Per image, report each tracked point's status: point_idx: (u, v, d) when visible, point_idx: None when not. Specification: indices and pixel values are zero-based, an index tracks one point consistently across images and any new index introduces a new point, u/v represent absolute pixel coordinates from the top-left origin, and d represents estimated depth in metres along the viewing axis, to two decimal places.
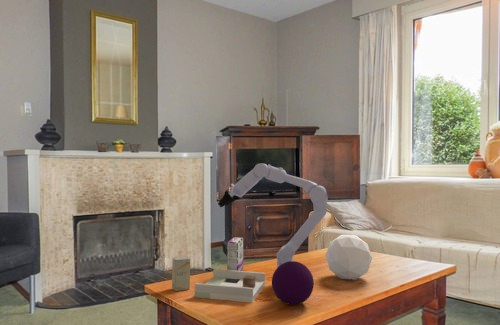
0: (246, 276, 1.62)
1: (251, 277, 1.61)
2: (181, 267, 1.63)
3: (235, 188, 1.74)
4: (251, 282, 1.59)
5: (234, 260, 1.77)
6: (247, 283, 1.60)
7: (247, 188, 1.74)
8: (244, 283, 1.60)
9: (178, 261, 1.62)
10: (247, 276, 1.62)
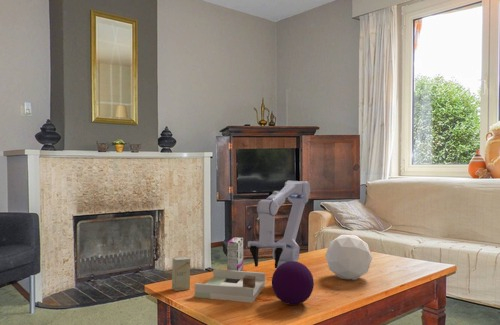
0: (246, 276, 1.62)
1: (251, 277, 1.61)
2: (181, 267, 1.63)
3: (272, 242, 1.58)
4: (251, 282, 1.59)
5: (234, 260, 1.77)
6: (247, 283, 1.60)
7: None
8: (244, 283, 1.60)
9: (178, 261, 1.62)
10: (247, 276, 1.62)
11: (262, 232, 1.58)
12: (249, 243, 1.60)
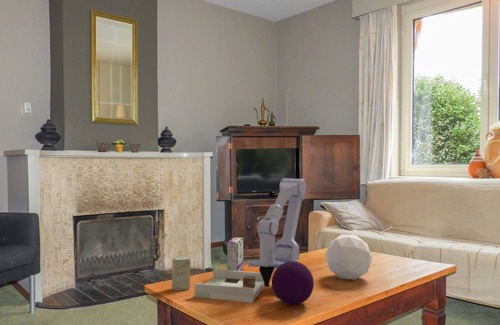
0: (246, 276, 1.62)
1: (251, 277, 1.61)
2: (181, 267, 1.63)
3: (273, 262, 1.58)
4: (251, 282, 1.59)
5: (234, 260, 1.77)
6: (247, 283, 1.60)
7: None
8: (244, 283, 1.60)
9: (178, 261, 1.62)
10: (247, 276, 1.62)
11: (262, 252, 1.58)
12: (249, 263, 1.60)
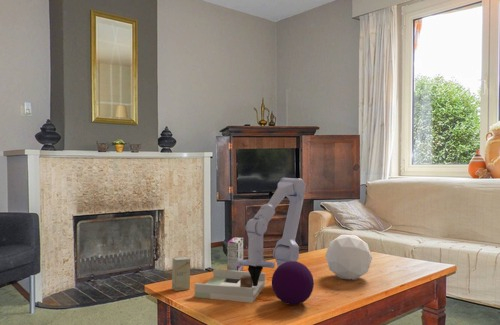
0: (243, 276, 1.62)
1: (249, 277, 1.61)
2: (181, 267, 1.63)
3: (261, 261, 1.59)
4: (249, 282, 1.60)
5: (234, 260, 1.77)
6: (244, 282, 1.60)
7: None
8: (242, 283, 1.60)
9: (178, 261, 1.62)
10: (244, 276, 1.62)
11: (251, 251, 1.59)
12: (238, 262, 1.61)
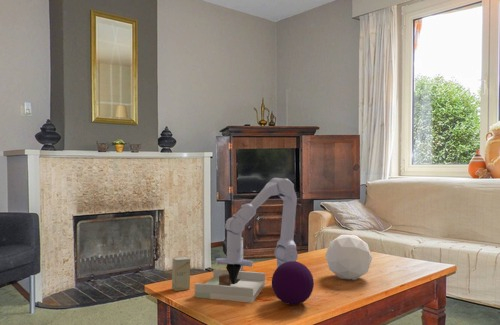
0: (222, 274, 1.64)
1: (227, 275, 1.63)
2: (181, 267, 1.63)
3: (239, 259, 1.61)
4: (227, 280, 1.62)
5: None
6: (223, 281, 1.62)
7: None
8: (220, 281, 1.62)
9: (178, 261, 1.62)
10: (223, 274, 1.64)
11: (229, 250, 1.61)
12: (217, 260, 1.64)
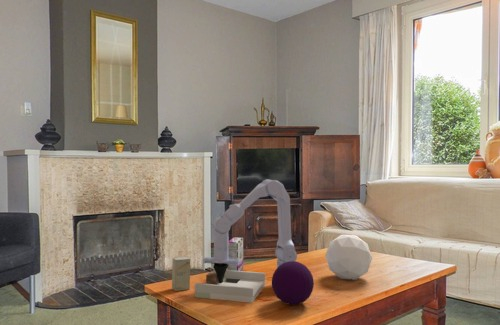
0: (210, 273, 1.66)
1: (214, 274, 1.64)
2: (181, 267, 1.63)
3: (226, 258, 1.63)
4: (214, 279, 1.63)
5: None
6: (210, 280, 1.63)
7: None
8: (207, 280, 1.64)
9: (178, 261, 1.62)
10: (211, 273, 1.66)
11: (216, 249, 1.62)
12: (204, 260, 1.65)
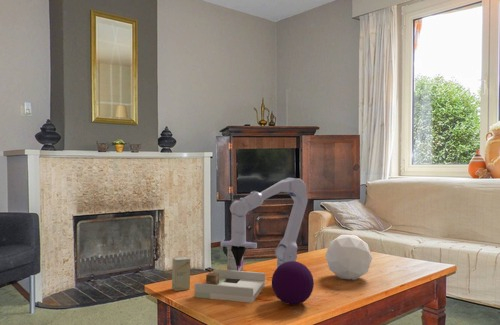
0: (210, 273, 1.66)
1: (214, 274, 1.64)
2: (181, 267, 1.63)
3: (244, 241, 1.64)
4: (214, 279, 1.63)
5: (234, 260, 1.77)
6: (210, 280, 1.63)
7: None
8: (207, 280, 1.64)
9: (178, 261, 1.62)
10: (211, 273, 1.66)
11: (234, 232, 1.64)
12: (222, 243, 1.67)
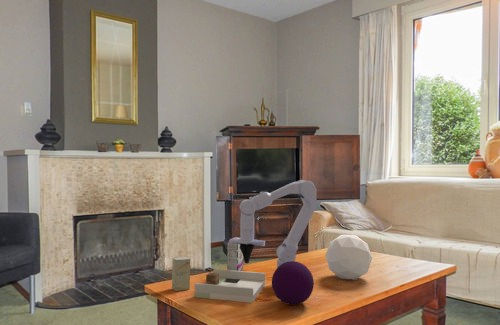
0: (210, 273, 1.66)
1: (214, 274, 1.64)
2: (181, 267, 1.63)
3: (252, 239, 1.68)
4: (214, 279, 1.63)
5: (234, 260, 1.77)
6: (210, 280, 1.63)
7: None
8: (207, 280, 1.64)
9: (178, 261, 1.62)
10: (211, 273, 1.66)
11: (242, 230, 1.68)
12: (231, 241, 1.71)
